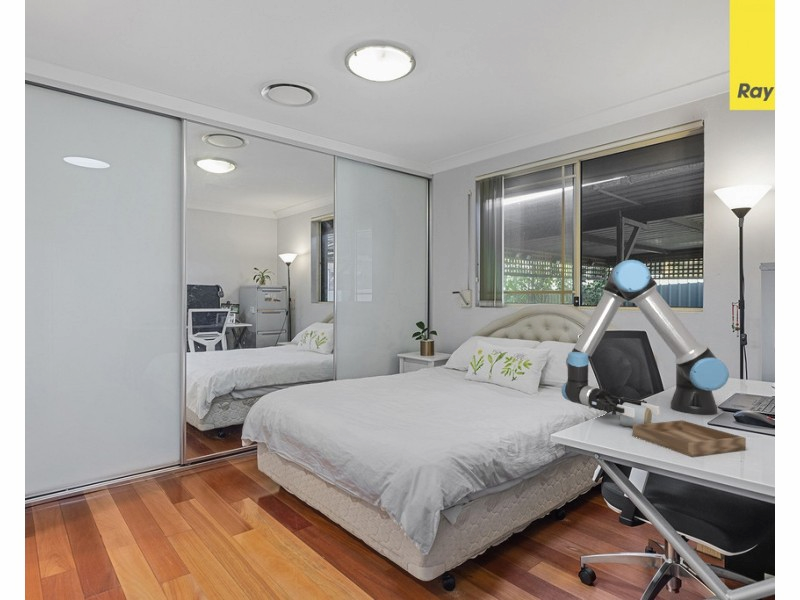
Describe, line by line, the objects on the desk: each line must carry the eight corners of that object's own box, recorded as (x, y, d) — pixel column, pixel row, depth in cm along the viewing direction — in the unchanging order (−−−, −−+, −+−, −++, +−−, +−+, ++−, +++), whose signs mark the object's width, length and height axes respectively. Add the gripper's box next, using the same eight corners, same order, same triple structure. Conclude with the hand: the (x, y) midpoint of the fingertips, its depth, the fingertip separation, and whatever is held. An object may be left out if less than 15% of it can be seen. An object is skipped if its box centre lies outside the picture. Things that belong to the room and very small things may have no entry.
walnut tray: (681, 431, 149) (681, 420, 149) (745, 450, 130) (745, 437, 130) (632, 436, 143) (632, 424, 143) (692, 457, 124) (692, 444, 124)
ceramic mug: (646, 432, 148) (647, 407, 148) (619, 427, 153) (619, 403, 153) (654, 426, 156) (655, 403, 156) (628, 421, 161) (628, 399, 161)
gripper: (619, 406, 174) (672, 421, 153) (570, 410, 167) (618, 426, 145) (619, 386, 174) (672, 398, 153) (570, 389, 167) (618, 402, 146)
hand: (646, 412), depth 149 cm, fingers closed on ceramic mug, 9 cm apart
